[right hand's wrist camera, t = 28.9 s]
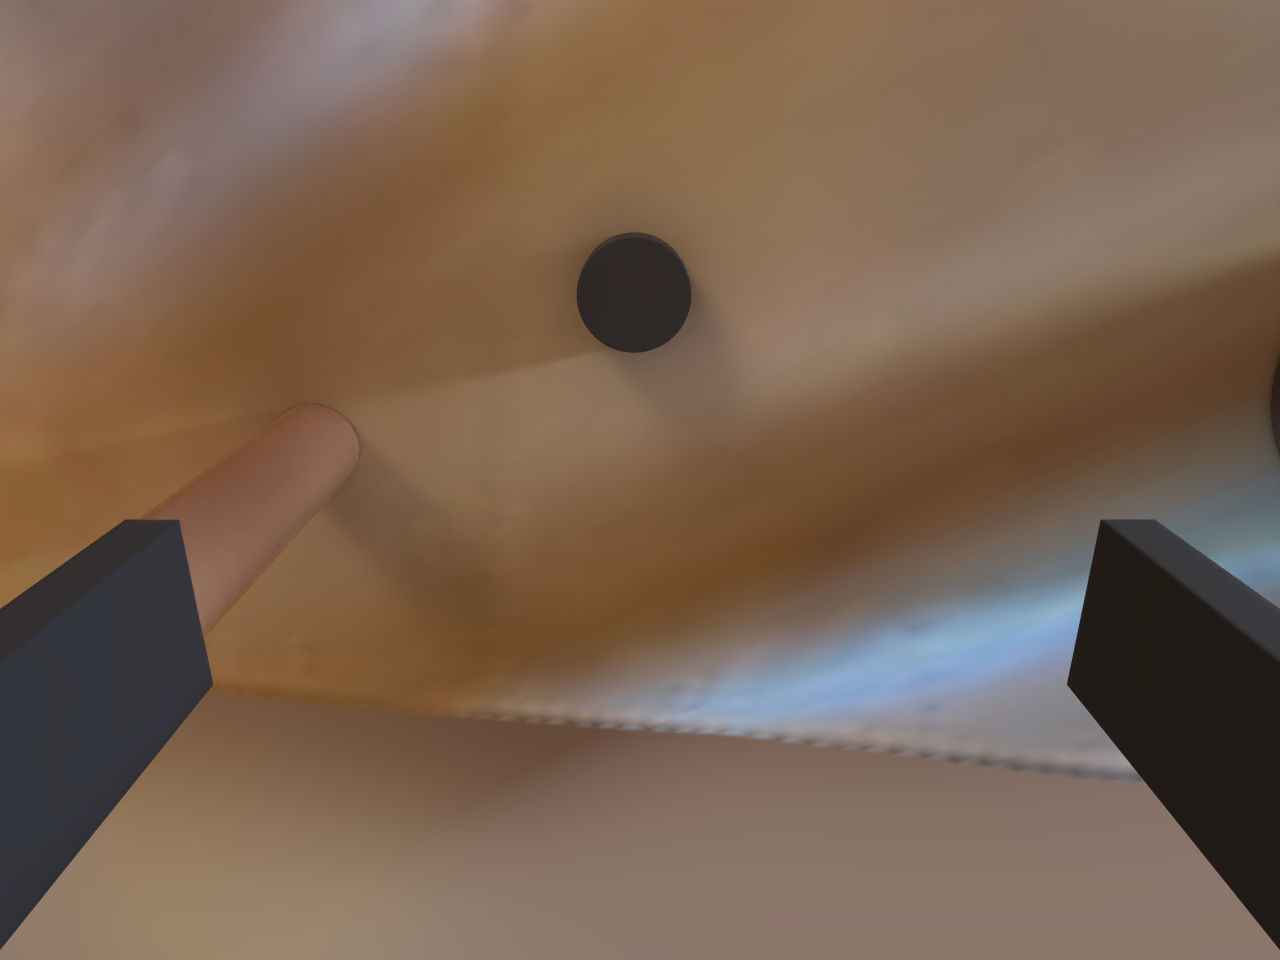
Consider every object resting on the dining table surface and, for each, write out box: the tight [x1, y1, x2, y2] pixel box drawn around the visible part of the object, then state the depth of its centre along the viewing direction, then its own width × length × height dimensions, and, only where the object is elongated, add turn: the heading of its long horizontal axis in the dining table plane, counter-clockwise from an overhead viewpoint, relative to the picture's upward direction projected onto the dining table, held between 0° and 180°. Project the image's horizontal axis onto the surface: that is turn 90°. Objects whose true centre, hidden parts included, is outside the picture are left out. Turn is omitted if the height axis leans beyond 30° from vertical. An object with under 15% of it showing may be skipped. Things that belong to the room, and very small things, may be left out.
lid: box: [577, 233, 691, 353], centre depth 39 cm, size 5×5×2 cm
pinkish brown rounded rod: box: [138, 404, 360, 638], centre depth 34 cm, size 4×4×19 cm
